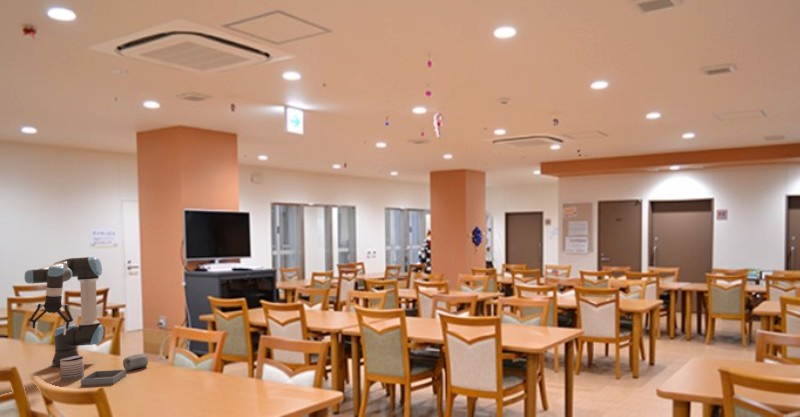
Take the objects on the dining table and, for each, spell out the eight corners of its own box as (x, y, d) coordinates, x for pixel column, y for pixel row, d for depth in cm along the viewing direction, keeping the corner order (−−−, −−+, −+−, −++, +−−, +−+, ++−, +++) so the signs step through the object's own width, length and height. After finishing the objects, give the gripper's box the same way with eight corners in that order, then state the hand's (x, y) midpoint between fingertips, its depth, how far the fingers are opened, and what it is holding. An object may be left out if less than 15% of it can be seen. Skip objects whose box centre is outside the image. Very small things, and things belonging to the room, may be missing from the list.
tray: (95, 377, 324) (95, 371, 324) (126, 375, 325) (125, 369, 325) (81, 386, 307) (80, 379, 307) (113, 384, 308) (113, 377, 308)
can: (64, 382, 315) (63, 360, 315) (57, 379, 323) (56, 357, 323) (87, 377, 324) (86, 356, 324) (79, 374, 331) (79, 353, 332)
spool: (125, 367, 329) (126, 350, 334) (119, 373, 335) (121, 356, 340) (150, 368, 338) (151, 352, 343) (144, 373, 344) (144, 357, 349)
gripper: (25, 295, 305) (21, 336, 305) (79, 296, 315) (75, 336, 315) (28, 293, 312) (24, 332, 311) (80, 294, 322) (77, 332, 321)
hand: (50, 334), depth 313 cm, fingers open, 13 cm apart
